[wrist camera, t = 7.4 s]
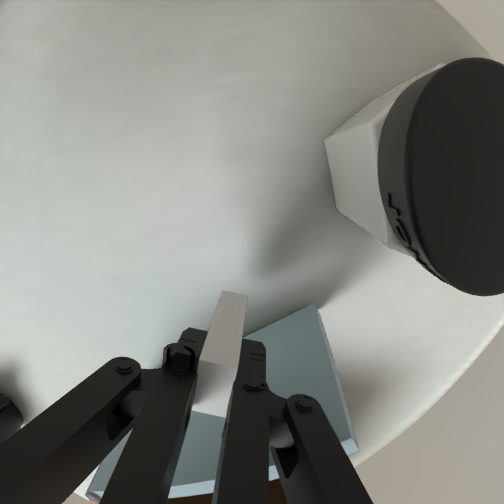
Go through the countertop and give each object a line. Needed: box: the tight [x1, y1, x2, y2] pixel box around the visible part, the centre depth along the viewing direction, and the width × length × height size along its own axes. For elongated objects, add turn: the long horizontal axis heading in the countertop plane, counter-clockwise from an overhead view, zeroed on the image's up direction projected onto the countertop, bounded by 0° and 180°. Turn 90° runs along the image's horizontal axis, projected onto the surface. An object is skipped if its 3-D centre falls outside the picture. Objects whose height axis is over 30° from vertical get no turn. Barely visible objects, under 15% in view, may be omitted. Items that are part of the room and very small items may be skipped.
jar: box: [324, 58, 504, 296], centre depth 13 cm, size 9×8×12 cm
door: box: [85, 303, 359, 503], centre depth 17 cm, size 1×16×12 cm, turn 120°
